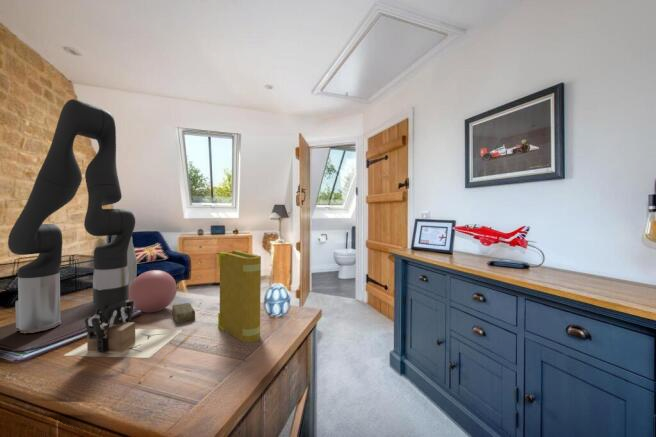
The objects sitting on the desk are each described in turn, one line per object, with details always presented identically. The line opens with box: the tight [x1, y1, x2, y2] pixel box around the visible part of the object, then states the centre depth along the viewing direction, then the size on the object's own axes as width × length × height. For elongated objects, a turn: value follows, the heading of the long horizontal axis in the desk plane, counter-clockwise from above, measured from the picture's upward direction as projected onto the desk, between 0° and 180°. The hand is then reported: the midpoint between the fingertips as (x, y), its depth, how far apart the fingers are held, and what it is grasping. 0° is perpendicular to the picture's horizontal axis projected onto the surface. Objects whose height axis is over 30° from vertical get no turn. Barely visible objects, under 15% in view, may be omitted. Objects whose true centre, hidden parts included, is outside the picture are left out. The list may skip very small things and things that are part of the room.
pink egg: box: [128, 269, 178, 313], centre depth 107 cm, size 15×20×15 cm
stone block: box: [171, 302, 196, 324], centre depth 97 cm, size 6×12×5 cm, turn 37°
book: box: [217, 249, 262, 343], centre depth 89 cm, size 17×7×25 cm, turn 47°
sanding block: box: [86, 321, 136, 353], centre depth 75 cm, size 9×5×6 cm, turn 89°
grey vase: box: [110, 235, 138, 288], centre depth 124 cm, size 10×10×28 cm
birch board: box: [63, 328, 184, 359], centre depth 79 cm, size 22×16×2 cm
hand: (111, 346), depth 75 cm, fingers closed on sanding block, 5 cm apart
